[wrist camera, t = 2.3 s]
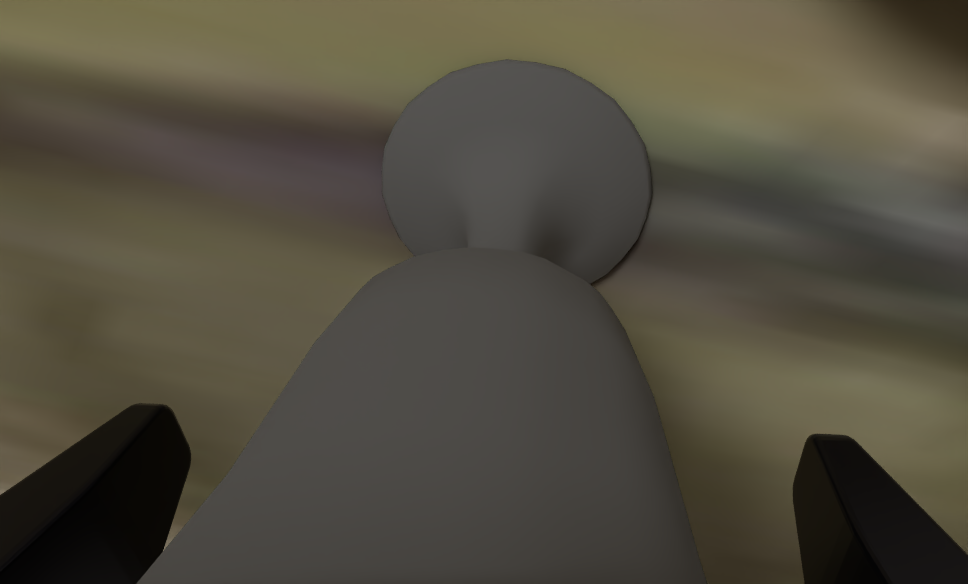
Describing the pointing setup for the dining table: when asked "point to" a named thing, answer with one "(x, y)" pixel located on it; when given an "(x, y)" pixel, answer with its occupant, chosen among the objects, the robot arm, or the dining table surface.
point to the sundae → (470, 373)
